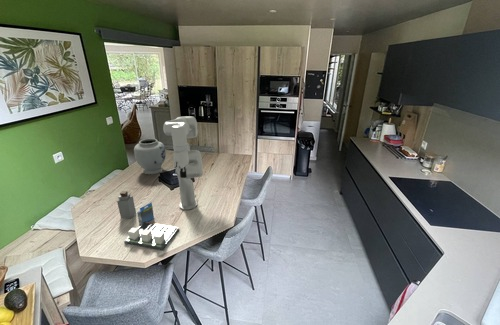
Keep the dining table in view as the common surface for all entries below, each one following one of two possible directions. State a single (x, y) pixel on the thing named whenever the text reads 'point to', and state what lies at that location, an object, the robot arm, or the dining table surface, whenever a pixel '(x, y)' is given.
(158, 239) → the breaker high
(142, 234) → the block
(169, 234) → the panel
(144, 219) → the label tape box
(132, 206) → the perfume bottle
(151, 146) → the ceramic vase
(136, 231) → the block
